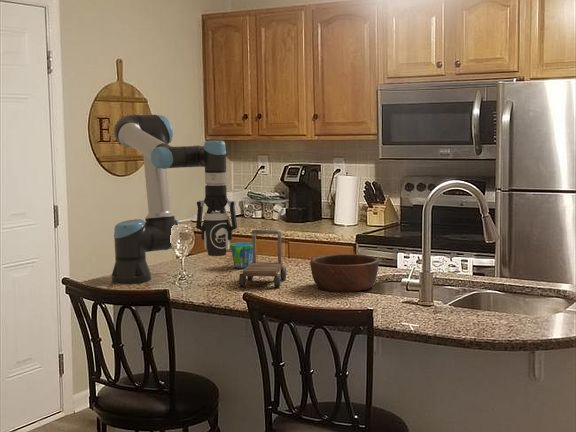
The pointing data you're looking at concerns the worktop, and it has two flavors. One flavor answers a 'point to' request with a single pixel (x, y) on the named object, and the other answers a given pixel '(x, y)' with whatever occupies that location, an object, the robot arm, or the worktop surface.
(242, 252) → the snack cup
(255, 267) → the trolley
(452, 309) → the worktop surface
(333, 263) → the wooden bowl
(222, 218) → the coffee cup
